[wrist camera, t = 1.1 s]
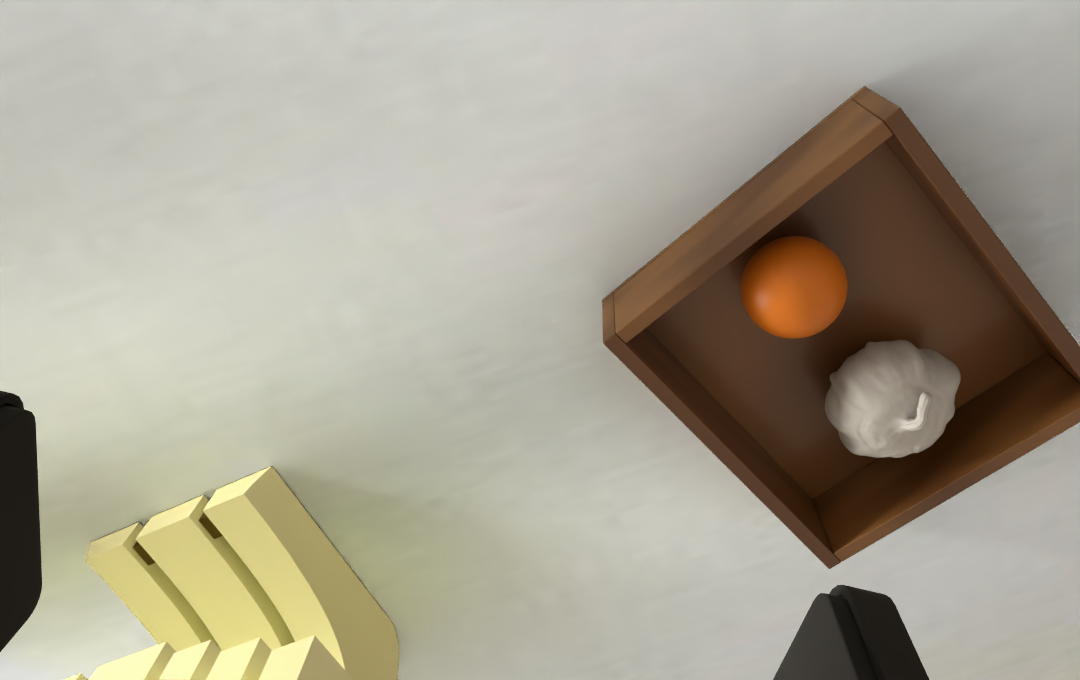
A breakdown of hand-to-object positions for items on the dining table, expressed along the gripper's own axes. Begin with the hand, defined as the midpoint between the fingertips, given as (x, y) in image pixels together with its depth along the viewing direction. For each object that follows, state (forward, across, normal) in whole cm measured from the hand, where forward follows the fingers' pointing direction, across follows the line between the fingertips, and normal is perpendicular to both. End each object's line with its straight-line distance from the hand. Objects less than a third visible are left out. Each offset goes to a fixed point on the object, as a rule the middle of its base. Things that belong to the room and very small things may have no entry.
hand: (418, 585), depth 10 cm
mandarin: (+26, -12, +4) cm, 29 cm away
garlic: (+28, -18, +8) cm, 35 cm away
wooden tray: (+28, -15, +6) cm, 33 cm away
